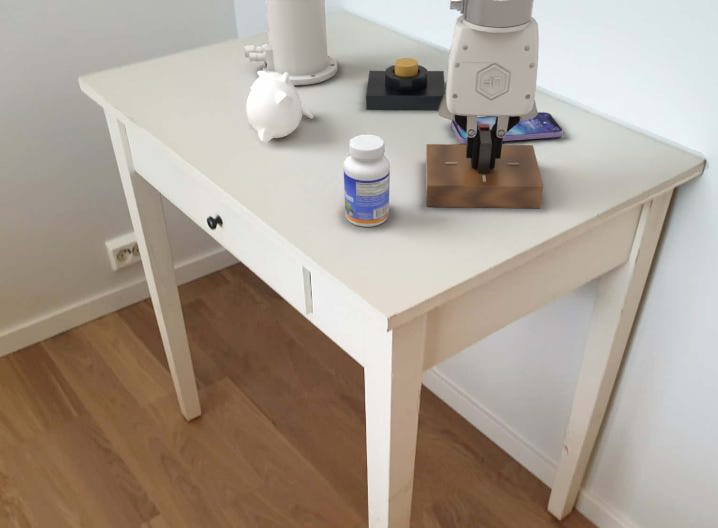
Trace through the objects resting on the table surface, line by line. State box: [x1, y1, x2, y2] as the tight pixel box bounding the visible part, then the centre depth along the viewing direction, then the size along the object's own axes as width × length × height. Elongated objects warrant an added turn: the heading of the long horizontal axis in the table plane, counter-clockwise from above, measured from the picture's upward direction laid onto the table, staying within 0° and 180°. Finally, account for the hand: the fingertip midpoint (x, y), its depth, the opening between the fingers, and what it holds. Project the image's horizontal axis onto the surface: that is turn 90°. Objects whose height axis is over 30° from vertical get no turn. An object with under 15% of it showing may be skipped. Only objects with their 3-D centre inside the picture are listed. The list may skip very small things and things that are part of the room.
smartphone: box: [450, 111, 564, 145], centre depth 105 cm, size 7×1×15 cm
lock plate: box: [425, 143, 544, 209], centre depth 93 cm, size 14×11×3 cm
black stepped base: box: [365, 64, 446, 111], centre depth 114 cm, size 12×10×4 cm
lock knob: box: [477, 124, 492, 173], centre depth 91 cm, size 5×1×4 cm, turn 177°
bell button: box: [394, 57, 419, 77], centre depth 112 cm, size 4×4×2 cm
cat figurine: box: [245, 69, 314, 144], centre depth 105 cm, size 9×11×12 cm
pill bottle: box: [343, 134, 391, 228], centre depth 86 cm, size 5×5×10 cm
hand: (482, 162), depth 92 cm, fingers closed
